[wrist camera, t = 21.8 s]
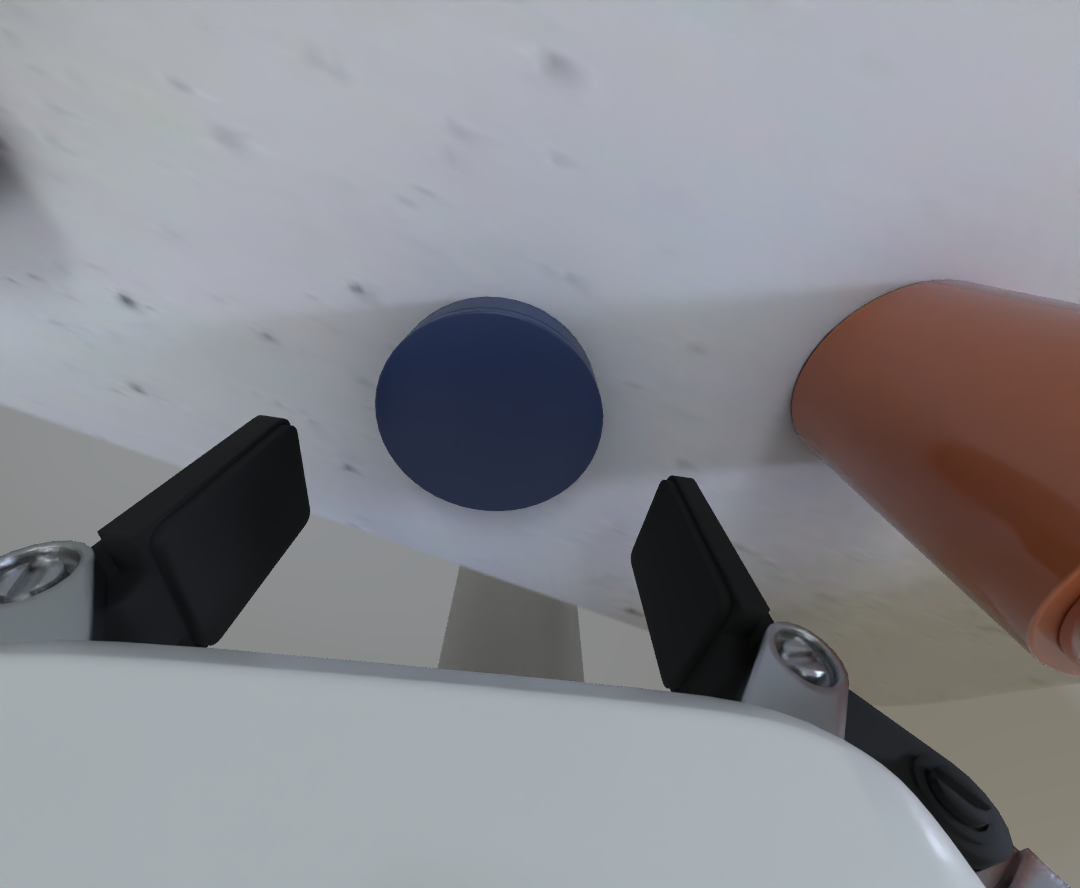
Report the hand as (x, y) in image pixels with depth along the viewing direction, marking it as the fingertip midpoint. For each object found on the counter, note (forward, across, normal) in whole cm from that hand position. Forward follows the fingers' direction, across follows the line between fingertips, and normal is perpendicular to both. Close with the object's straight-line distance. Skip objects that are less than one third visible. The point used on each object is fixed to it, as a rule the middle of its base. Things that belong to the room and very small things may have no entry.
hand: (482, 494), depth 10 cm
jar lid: (+3, 0, -1) cm, 3 cm away
